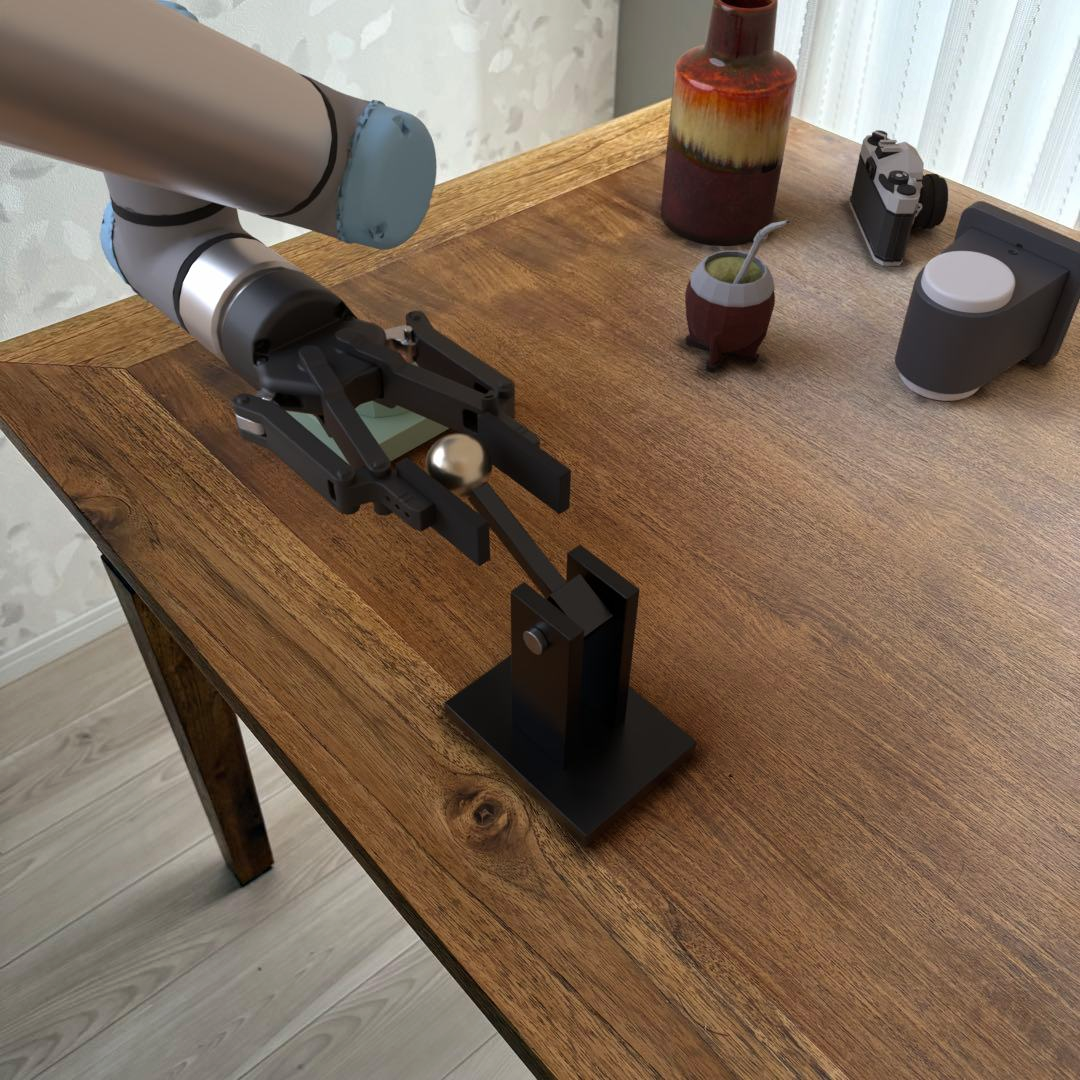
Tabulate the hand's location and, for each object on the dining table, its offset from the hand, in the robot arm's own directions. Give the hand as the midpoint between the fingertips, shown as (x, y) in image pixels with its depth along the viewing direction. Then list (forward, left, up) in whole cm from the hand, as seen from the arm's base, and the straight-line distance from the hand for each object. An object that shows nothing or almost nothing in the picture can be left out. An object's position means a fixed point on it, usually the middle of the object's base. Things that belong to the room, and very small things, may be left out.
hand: (524, 517), depth 57 cm
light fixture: (+47, +13, -15) cm, 51 cm away
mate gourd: (+31, +23, -15) cm, 42 cm away
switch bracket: (+1, -4, -15) cm, 16 cm away
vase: (+43, +42, -15) cm, 62 cm away
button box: (+3, +29, -15) cm, 33 cm away
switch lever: (0, +2, -4) cm, 4 cm away
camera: (+57, +32, -15) cm, 67 cm away
